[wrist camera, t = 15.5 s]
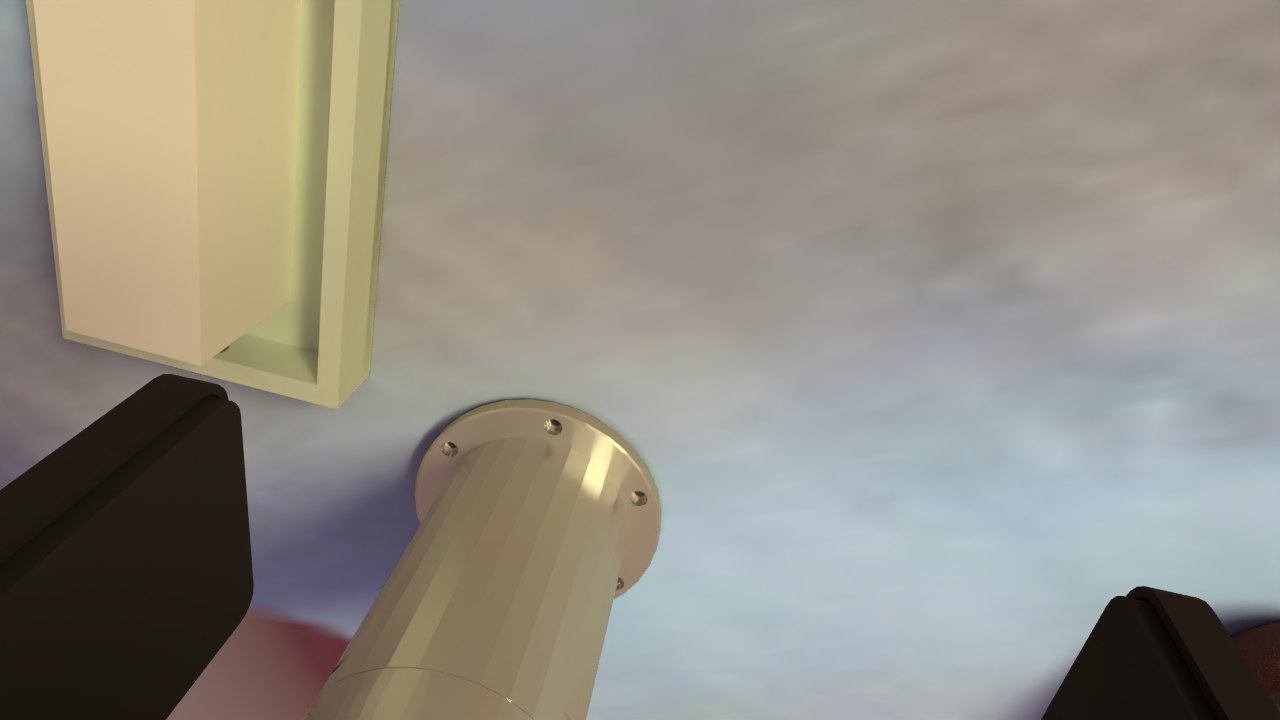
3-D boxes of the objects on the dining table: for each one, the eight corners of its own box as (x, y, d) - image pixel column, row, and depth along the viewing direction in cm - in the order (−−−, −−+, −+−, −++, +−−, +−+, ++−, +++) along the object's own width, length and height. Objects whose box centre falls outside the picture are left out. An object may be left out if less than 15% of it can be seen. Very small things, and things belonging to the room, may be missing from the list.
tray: (369, 374, 41) (337, 409, 38) (115, 309, 41) (63, 338, 38) (409, -134, 31) (370, -143, 28) (75, -216, 31) (0, -235, 28)
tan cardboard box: (290, 314, 39) (201, 383, 33) (177, 284, 39) (68, 347, 33) (302, -24, 33) (193, -18, 26) (167, -59, 33) (27, -61, 26)
